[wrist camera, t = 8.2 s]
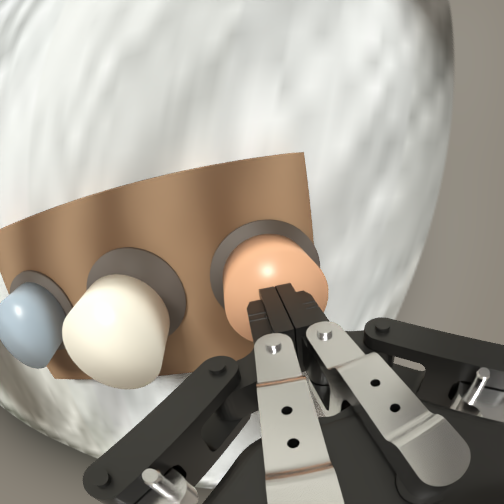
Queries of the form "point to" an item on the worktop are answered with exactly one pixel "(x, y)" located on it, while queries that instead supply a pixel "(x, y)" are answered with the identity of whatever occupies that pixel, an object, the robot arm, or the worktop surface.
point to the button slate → (31, 324)
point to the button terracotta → (267, 275)
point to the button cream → (118, 332)
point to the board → (164, 247)
